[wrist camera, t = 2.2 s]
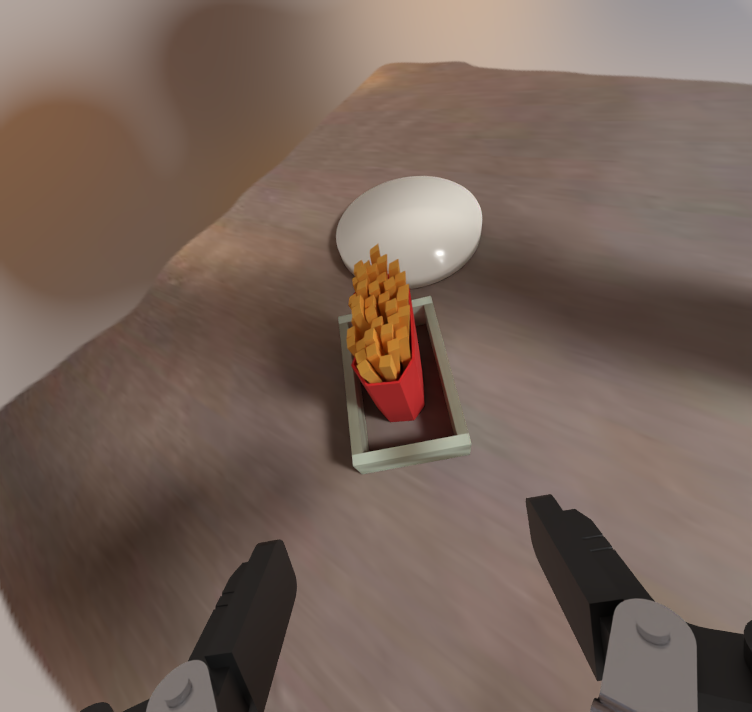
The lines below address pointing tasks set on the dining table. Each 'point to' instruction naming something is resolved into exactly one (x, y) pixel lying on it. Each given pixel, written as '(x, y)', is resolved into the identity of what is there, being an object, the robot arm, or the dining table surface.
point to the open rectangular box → (410, 452)
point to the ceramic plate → (413, 227)
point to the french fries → (385, 338)
